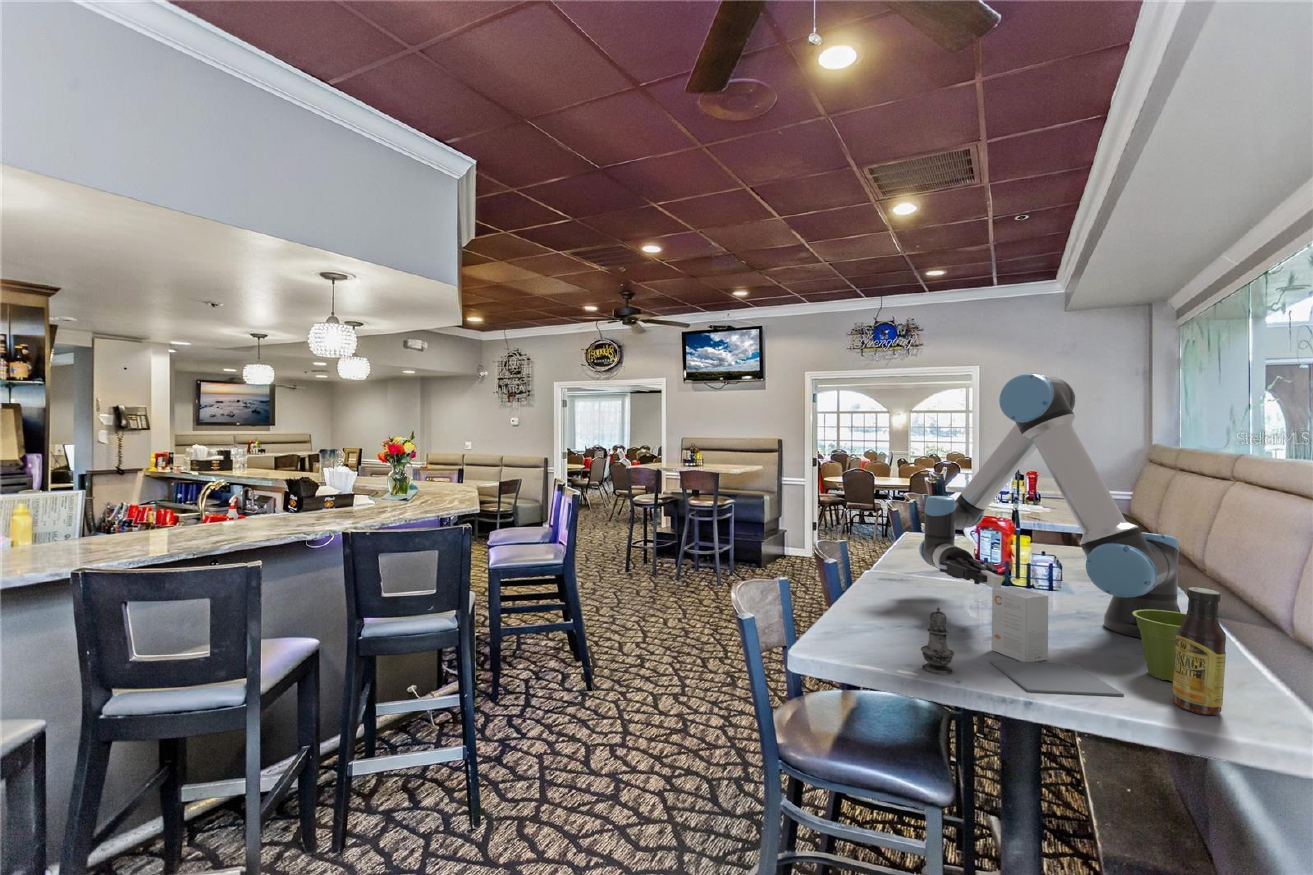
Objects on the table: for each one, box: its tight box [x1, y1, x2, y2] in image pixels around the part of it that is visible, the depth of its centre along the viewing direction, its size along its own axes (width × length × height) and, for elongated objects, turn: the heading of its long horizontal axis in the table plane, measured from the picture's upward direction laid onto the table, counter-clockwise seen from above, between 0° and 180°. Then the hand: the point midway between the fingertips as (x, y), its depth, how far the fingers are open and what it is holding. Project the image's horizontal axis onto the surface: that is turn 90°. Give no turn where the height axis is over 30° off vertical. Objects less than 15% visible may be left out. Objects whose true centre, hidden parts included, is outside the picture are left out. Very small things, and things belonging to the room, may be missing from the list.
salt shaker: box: [920, 606, 955, 676], centre depth 117 cm, size 6×6×12 cm
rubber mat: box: [989, 659, 1125, 697], centre depth 113 cm, size 16×14×1 cm
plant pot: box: [1132, 610, 1187, 683], centre depth 115 cm, size 12×12×11 cm
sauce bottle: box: [1172, 586, 1227, 716], centre depth 101 cm, size 7×6×20 cm
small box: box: [990, 586, 1049, 662], centre depth 125 cm, size 8×6×13 cm
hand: (997, 583), depth 135 cm, fingers closed
